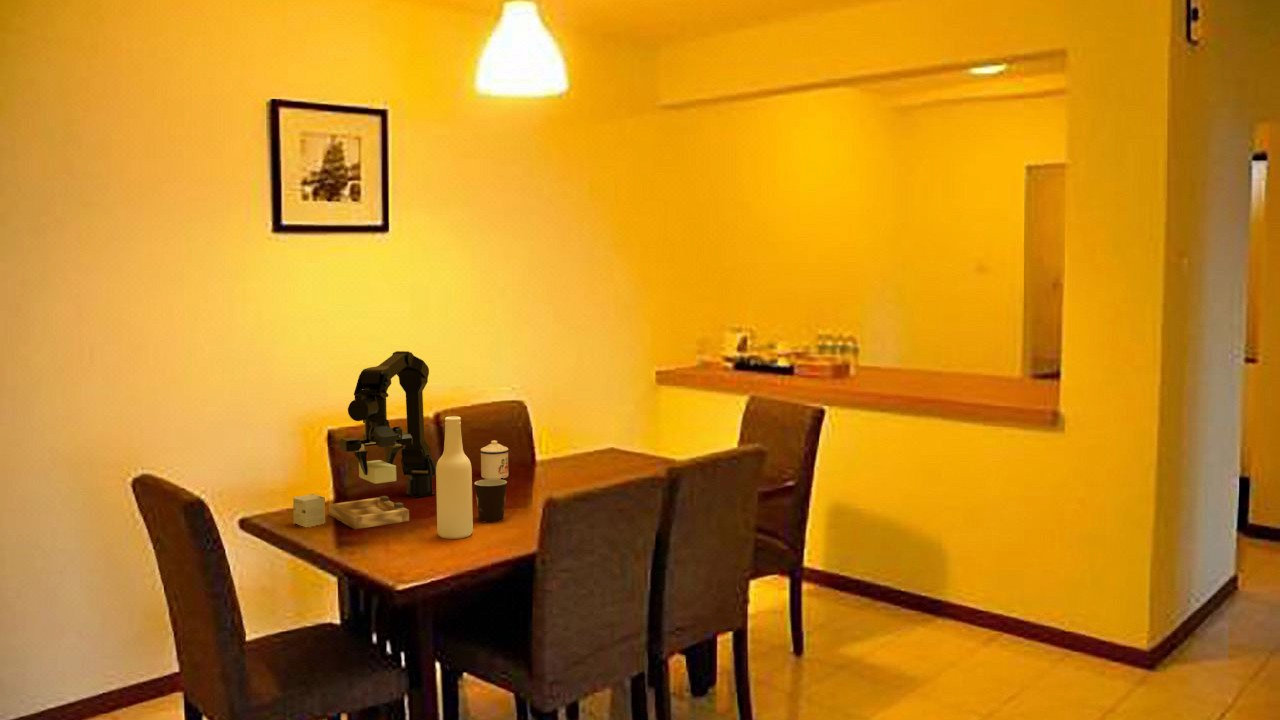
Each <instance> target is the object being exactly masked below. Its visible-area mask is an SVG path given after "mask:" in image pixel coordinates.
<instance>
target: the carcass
mask: <svg viewBox="0 0 1280 720" xmlns="http://www.w3.org/2000/svg"><path fill="white" fill-rule="evenodd" d="M328 515H329V516H330V517H331V516H332V518H333V517H334V518H333V519H335V518H336V519H335V520H337V521H339V522H340V521H341V522H340V523H343V524H344V525H346V526H348V527H349V528H352V529H353V530H359V529H366V528H372V527H379V526H386V525H392V524H399V523H405V522H410V509H408V508H406V507H404V503H403V502H393V501H391V500H390V499H389V496H387V495H382V496H379V497H371V498H366V499H365V498H364V499H359V500H351V501H344V502H343V501H342V502H336V503H330V504H328Z"/></svg>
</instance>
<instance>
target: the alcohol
mask: <svg viewBox="0 0 1280 720" xmlns="http://www.w3.org/2000/svg"><path fill="white" fill-rule="evenodd" d="M461 420H462V418H461V416H457V415H452V416H446V417H445V418H444V421H445V422H444V425H445V429H444V443H443V444H444V445H443V452H442V455H441V456H440V457H439V458H438V461H436V465H437V466H436V475H435V479H436V480H435V481H436V482H435V483H436V486H435V487H436V524H437V525H436V526H437V529H436V530H437V534H438V536H439V537H440V538H442V539H445V540H447V539H448V540H451V539H452V540H457V539H459V540H460V539H464V538H468V537H470V536H471V535H472V533H473V530H474V527H473V525H474V524H473V521H474V518H473V514H474V513H473V481H472V480H473V478H472V477H473V475H472V474H473V472H472V471H473V470H472V467H473V466H472V463H471V460H470V458H468V456H467V455H466V454H465V451H464V447H463V438H462V437H463V435H462V427H461V426H462V425H461V424H462V422H461Z"/></svg>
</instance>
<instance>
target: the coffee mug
mask: <svg viewBox="0 0 1280 720" xmlns="http://www.w3.org/2000/svg"><path fill="white" fill-rule="evenodd" d="M473 484H474V491H475V499H476V506H477V512H478V521H480V520H481V521H480V522H482V521H486V522H485V523H494V522H493V521H498V522H500V521H499V520H501V521H503V520H504V518H505V517H504V516H505V515H504V514H505V505H506V495H507V485H508V481H507V480H504V479H480V480H477V481H475V482H474V483H473ZM502 519H503V520H502Z"/></svg>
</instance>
